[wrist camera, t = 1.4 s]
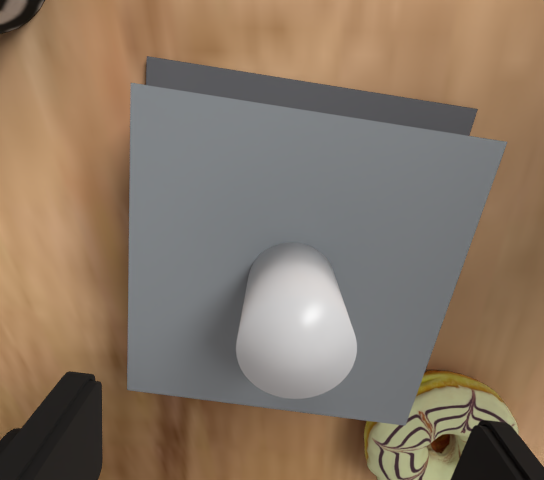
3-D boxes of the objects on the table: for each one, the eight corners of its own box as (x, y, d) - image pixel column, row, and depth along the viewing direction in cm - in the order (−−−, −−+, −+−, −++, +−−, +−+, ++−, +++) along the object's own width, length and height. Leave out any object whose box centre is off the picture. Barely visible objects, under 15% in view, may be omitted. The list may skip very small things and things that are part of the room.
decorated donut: (396, 484, 30) (412, 534, 27) (333, 399, 27) (341, 442, 24) (517, 434, 28) (551, 482, 24) (462, 337, 25) (492, 374, 22)
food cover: (442, 133, 20) (619, 156, 10) (376, 354, 25) (446, 526, 15) (173, 91, 19) (54, 67, 9) (162, 325, 24) (76, 482, 14)
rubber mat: (473, 109, 20) (477, 109, 19) (390, 370, 26) (392, 374, 26) (149, 57, 19) (146, 56, 19) (141, 337, 25) (139, 341, 25)
